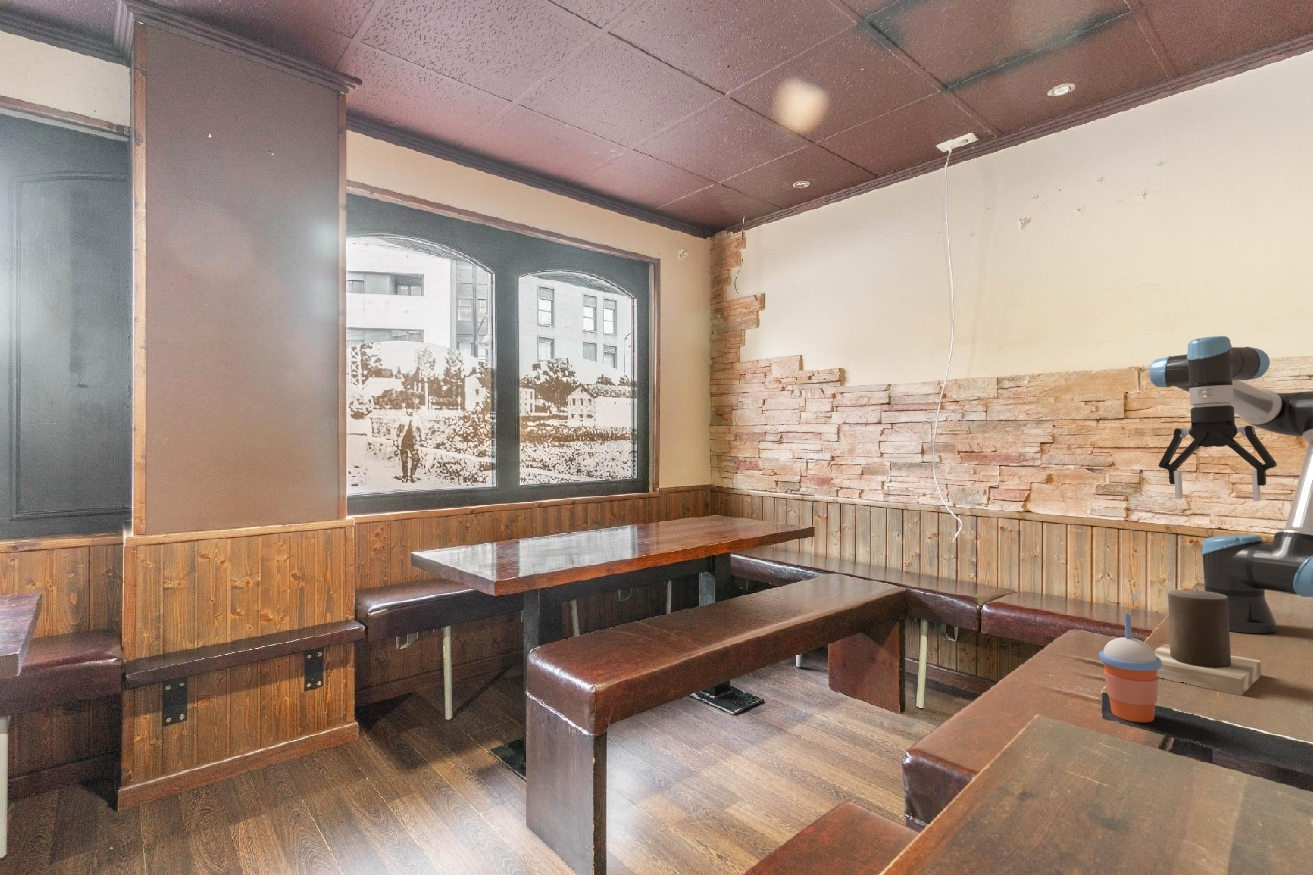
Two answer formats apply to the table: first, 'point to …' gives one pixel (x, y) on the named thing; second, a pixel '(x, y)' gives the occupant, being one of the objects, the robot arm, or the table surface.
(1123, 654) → the cup with straw
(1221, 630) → the pillar candle
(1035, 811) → the table surface
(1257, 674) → the wooden block
